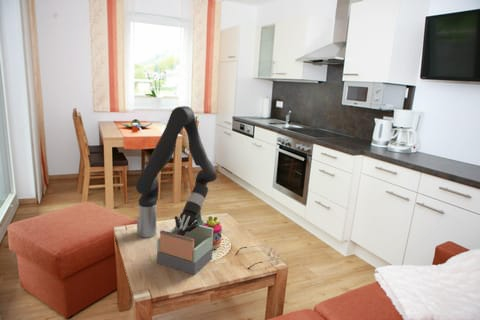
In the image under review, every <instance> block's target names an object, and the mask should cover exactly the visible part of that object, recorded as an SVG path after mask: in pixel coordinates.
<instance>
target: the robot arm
mask: <svg viewBox="0 0 480 320" xmlns="http://www.w3.org/2000/svg"><path fill="white" fill-rule="evenodd" d="M195 116H196V115H195V113H194V111H193V109H192V108H191V107H189V106H186V105H185V106H177V107H175V108H173V110H172V111H171V113H170V115H169V118H168V120H167V123H166V126H165V128H164V130H163V132H162V134H161V136H160V138H159V140H158V142H157V143H156V145H155V148H154V150H153V151H152V153H151V156H150V157H149V159H148V161H147V164H146V165H145V168H144V169H143V170H142V172H141V174H140V175H139V177H138V178H137V180H136V182H135V189H136V191H137V193H139V194H140V195H141V196H140V197H139V199H138V217H137V218H136V234H137V235H138V236H139V237H141V238H152V237H155V236H156V235H157V202H158V197H159V191H160V190H159V186H160V185H159V179H158V177H157V176H158V174H159V173H160V172H161V171H162V170H163V169H164V167H166V166H167V165H168V163H169V162H170V160H171V159H172V156H173V155H174V153H175V150H176V146H177V139H178V137H179V135H180V133H181V131H182V130H183V128H184V130H185V131H186V135H187V140H188V148H189V153H190V156H191V157H192V161H193V162H194V164H195V166H197V167H200V168H201V170H200V171H198V173H197V175H196V178H195V182H194V187H193V189H192V191H191V193H190V195H188V196H189V197H188V199H187V201H186V202H185V205H184V207H183V209H182V212H181V213H180V215H178V216H177V215H175V216H174V221H175V227H176V226H177V228H178V229H179V231H178V235H182V236H184V235H185V233H186V232H188V231H189V232H190V231H192V230H193V229H195V228H196V227H198V226H199V225H200V224H199V223H198V221H197V216H198V215H199V213H200V211H201V209H202V207H203V205H204V203H205V199H206V197H207V195H208V193H209V187H208V186H207V185H208V183H212V182H214V181H216V180H217V178H218V172H217V170H216V167H215V166H214V165H213V163H212V161H211V160H210V159H209V158H208V155H207V153H206V150H205V147H204V145H203V142H202V139H201V136H200V133H199V128H198V125H197V121H196V117H195ZM180 220H181V225H180ZM191 224H192V225H191Z"/></svg>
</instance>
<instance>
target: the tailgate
mask: <svg viewBox="0 0 480 320" xmlns="http://www.w3.org/2000/svg"><path fill="white" fill-rule="evenodd" d="M159 234H160V235H159V238H160V252H163V253H166V254H170V255H173V256H176V257H180V258H183V259H186V260H190V261H193V249H194V239H193V238H189V237H185V236H182V235H178V234H174V233H171V232H170V231H166V230H162V229H161V230H160V231H159Z"/></svg>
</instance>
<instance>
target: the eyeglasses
mask: <svg viewBox="0 0 480 320" xmlns="http://www.w3.org/2000/svg"><path fill="white" fill-rule="evenodd" d="M267 244H269V247H270V250H269V252H268V254H270V253H272V255H273V257H274V258H273V259H269V260H268V259H267V260H266V261H265V260H264V261H259V262H255V263H254V264H252V265H250V266H249V267H247V268H246V269H247V270H248V269H251V268H252V267H253V266H255V265H257V264H262V263H265V262H270V261H274V260H276V261H277V260H280V259H281V257H280V256H278V257H276V255H275V254H276V251H277V253H278V254H280V252H279V250H278V249H276V248H274V247H272V245H271V244H270V243H268V242H266V244H259V245H258V247H262V246H264V248H265V250H267V248H266V247H267ZM253 247H255V248H256V247H257V245H253V246H250V248H253ZM247 248H248V246H243V247H240V248H238V250H237V251H236V253H235V254H234V256H237V255H238V253H239V252H240V251H241V250H242V249H247ZM273 249H274V250H273ZM275 249H276V250H275ZM272 251H273V252H272Z"/></svg>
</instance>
